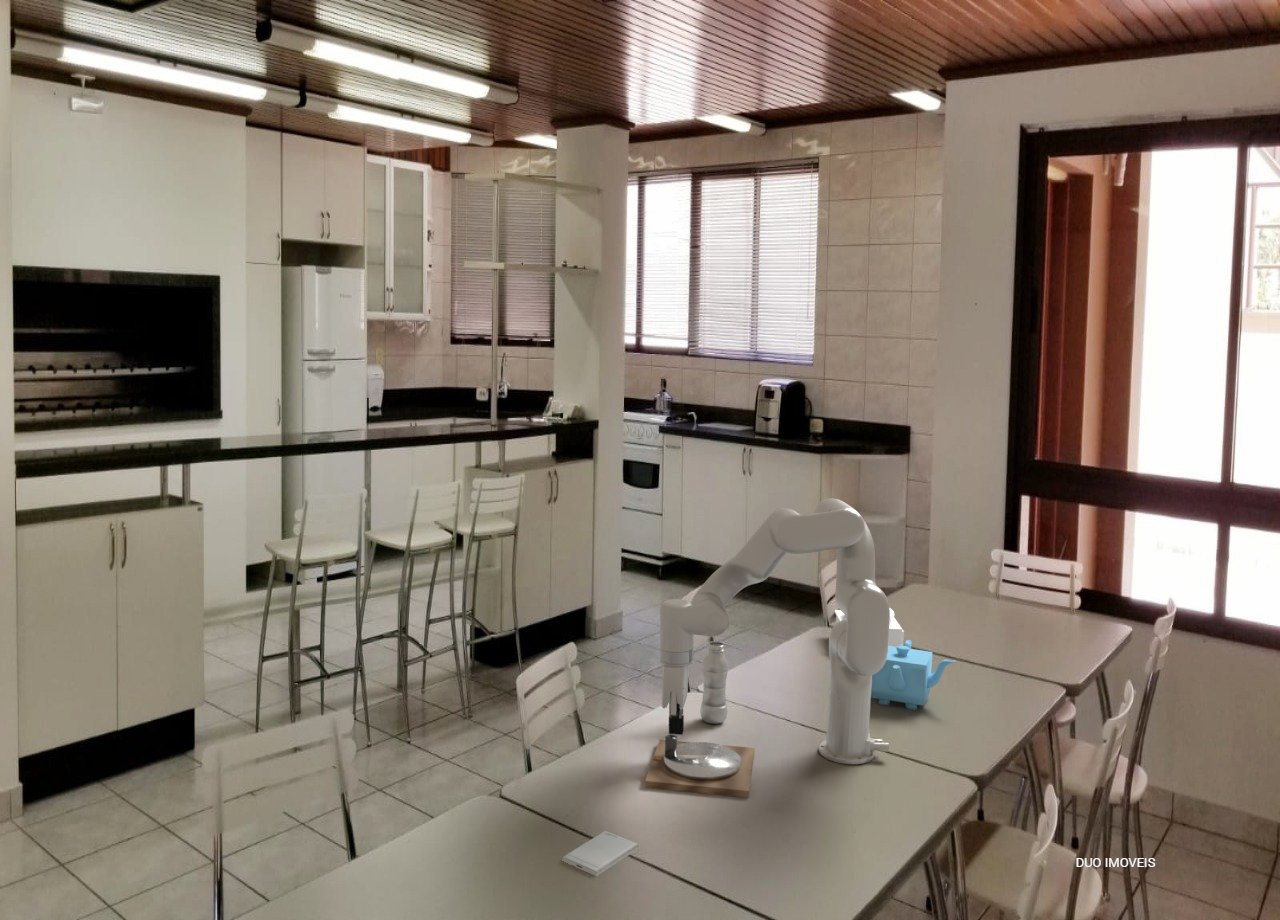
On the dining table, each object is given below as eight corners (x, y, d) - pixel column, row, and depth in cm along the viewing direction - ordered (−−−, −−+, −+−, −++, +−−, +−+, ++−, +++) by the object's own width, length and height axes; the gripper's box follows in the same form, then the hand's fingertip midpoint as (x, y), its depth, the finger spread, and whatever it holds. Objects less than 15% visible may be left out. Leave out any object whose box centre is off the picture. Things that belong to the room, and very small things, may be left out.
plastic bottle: (725, 728, 255) (728, 649, 252) (697, 725, 256) (700, 646, 254) (728, 718, 261) (731, 641, 258) (701, 715, 263) (704, 638, 260)
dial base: (754, 754, 241) (754, 746, 240) (748, 797, 219) (749, 789, 219) (659, 745, 244) (659, 738, 244) (645, 787, 223) (645, 779, 222)
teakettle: (850, 693, 281) (853, 640, 279) (907, 684, 288) (911, 632, 286) (894, 718, 264) (897, 662, 262) (953, 709, 271) (957, 654, 269)
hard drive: (604, 829, 202) (562, 855, 192) (638, 843, 197) (596, 870, 187) (604, 838, 202) (562, 864, 192) (638, 851, 197) (596, 879, 188)
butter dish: (902, 658, 311) (905, 606, 309) (841, 655, 312) (844, 603, 309) (890, 639, 328) (894, 590, 326) (833, 637, 329) (835, 588, 327)
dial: (738, 748, 239) (739, 724, 239) (742, 781, 223) (743, 756, 222) (664, 745, 240) (665, 721, 239) (662, 778, 223) (663, 753, 222)
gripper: (664, 643, 242) (664, 719, 245) (655, 665, 227) (655, 745, 230) (696, 645, 241) (696, 721, 243) (689, 667, 226) (688, 747, 229)
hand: (676, 732), depth 237 cm, fingers closed
